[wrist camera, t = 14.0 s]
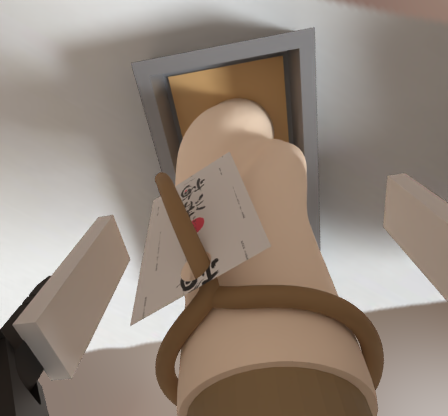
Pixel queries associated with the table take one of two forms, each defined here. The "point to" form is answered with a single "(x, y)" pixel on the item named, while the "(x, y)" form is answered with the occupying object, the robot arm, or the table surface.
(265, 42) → the bottle caddy
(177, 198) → the water bottle
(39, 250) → the table surface
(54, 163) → the table surface
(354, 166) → the table surface
